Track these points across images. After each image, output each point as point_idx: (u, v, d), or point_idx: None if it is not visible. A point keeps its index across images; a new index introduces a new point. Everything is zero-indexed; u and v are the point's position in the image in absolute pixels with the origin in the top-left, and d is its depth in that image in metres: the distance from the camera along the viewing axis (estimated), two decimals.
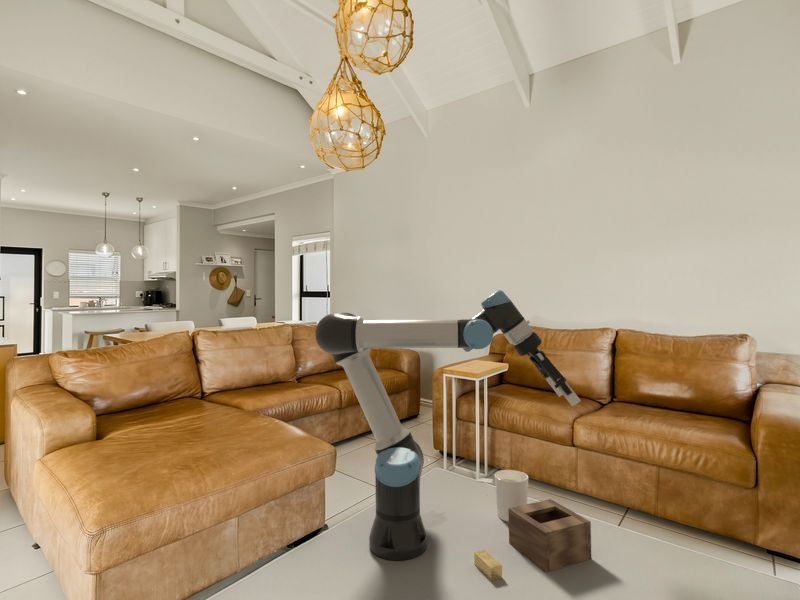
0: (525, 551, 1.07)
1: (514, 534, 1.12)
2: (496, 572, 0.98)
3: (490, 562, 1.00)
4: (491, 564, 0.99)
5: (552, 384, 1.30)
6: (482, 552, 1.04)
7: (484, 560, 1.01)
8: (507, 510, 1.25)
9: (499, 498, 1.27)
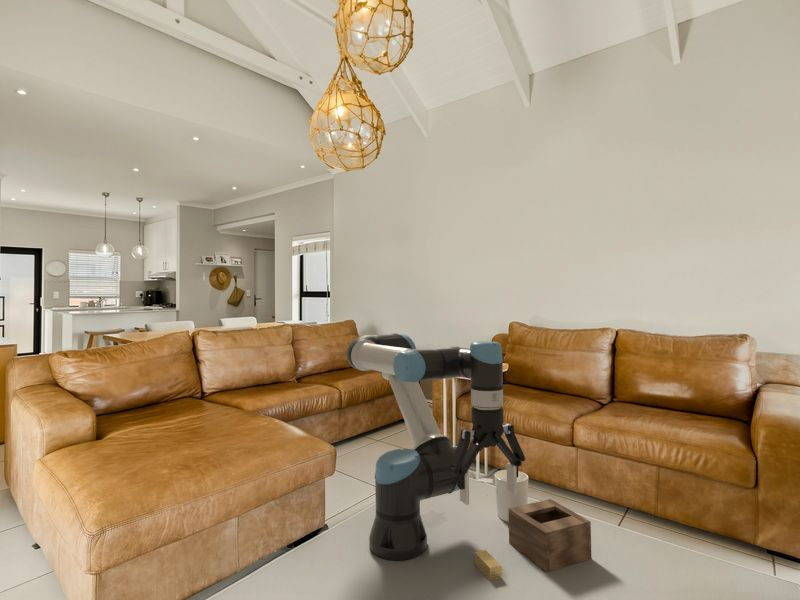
0: (525, 551, 1.07)
1: (514, 534, 1.12)
2: (495, 572, 0.98)
3: (489, 562, 1.00)
4: (490, 564, 0.99)
5: (508, 473, 1.06)
6: (483, 552, 1.04)
7: (484, 559, 1.01)
8: (507, 510, 1.25)
9: (499, 498, 1.27)
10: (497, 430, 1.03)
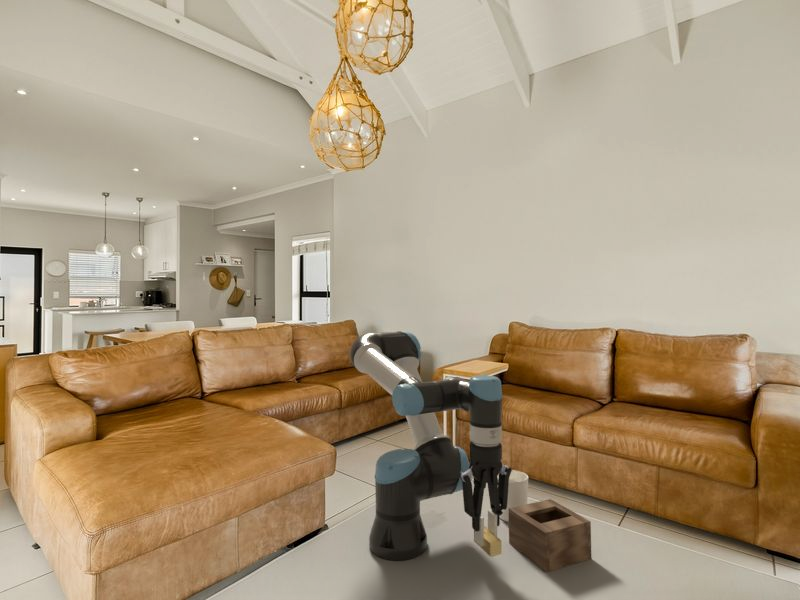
0: (525, 551, 1.07)
1: (514, 534, 1.12)
2: (496, 548, 0.98)
3: (490, 538, 1.00)
4: (491, 540, 0.99)
5: (489, 521, 1.04)
6: None
7: (484, 535, 1.01)
8: (507, 510, 1.25)
9: None
10: (496, 464, 1.02)
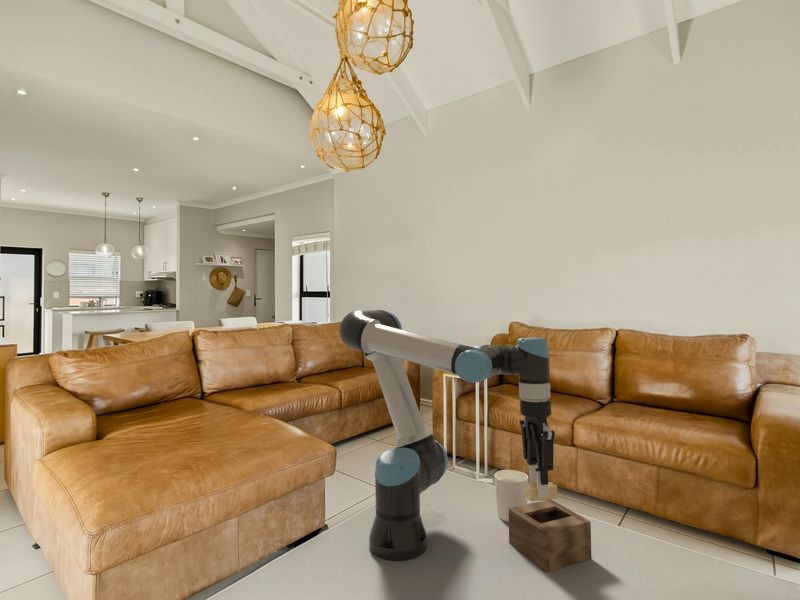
0: (525, 551, 1.07)
1: (514, 534, 1.12)
2: None
3: None
4: (551, 485, 1.08)
5: (532, 475, 1.10)
6: (530, 485, 1.08)
7: None
8: (507, 510, 1.25)
9: (499, 498, 1.27)
10: None
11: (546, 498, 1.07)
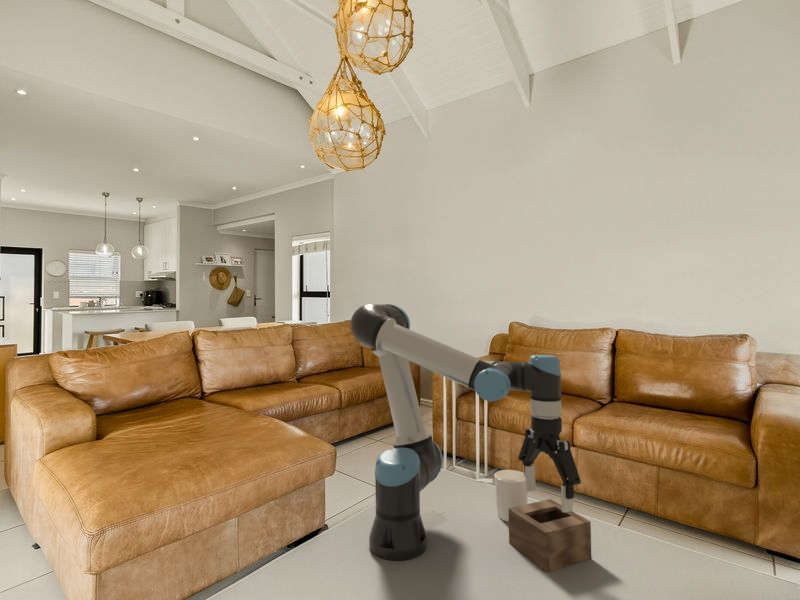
0: (525, 551, 1.07)
1: (514, 534, 1.12)
2: None
3: None
4: None
5: (528, 475, 1.16)
6: None
7: None
8: (507, 510, 1.25)
9: (499, 498, 1.27)
10: None
11: None
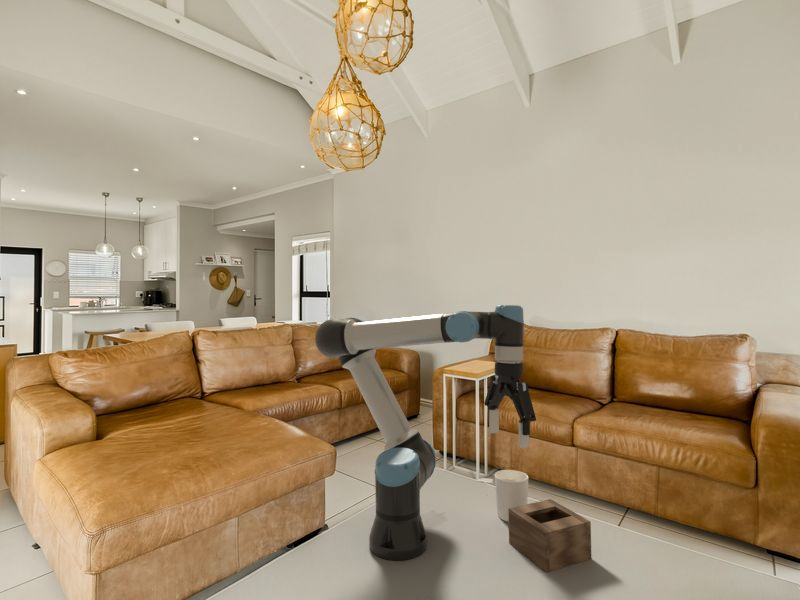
0: (525, 551, 1.07)
1: (514, 534, 1.12)
2: None
3: None
4: None
5: (492, 418, 1.24)
6: None
7: None
8: (507, 510, 1.25)
9: (499, 498, 1.27)
10: None
11: None
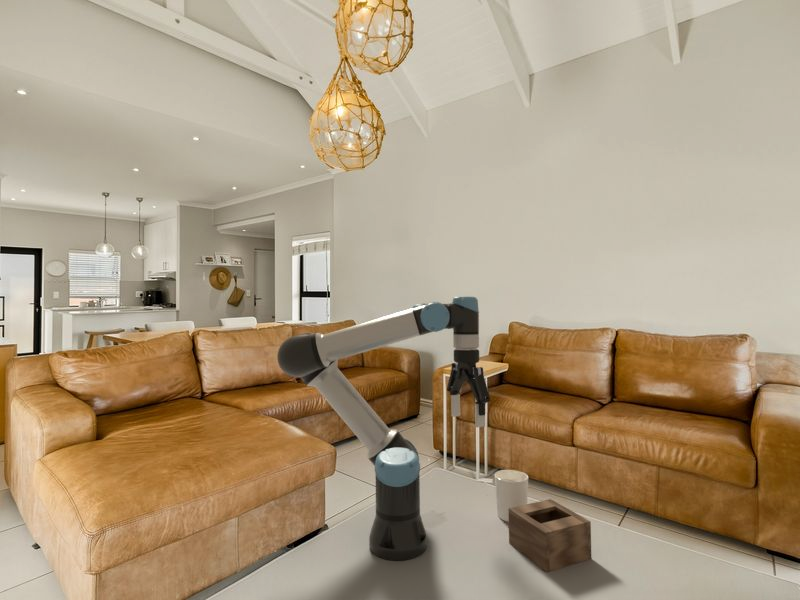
0: (525, 551, 1.07)
1: (514, 534, 1.12)
2: None
3: None
4: None
5: (454, 403, 1.33)
6: None
7: None
8: (507, 510, 1.25)
9: (499, 498, 1.27)
10: None
11: None
